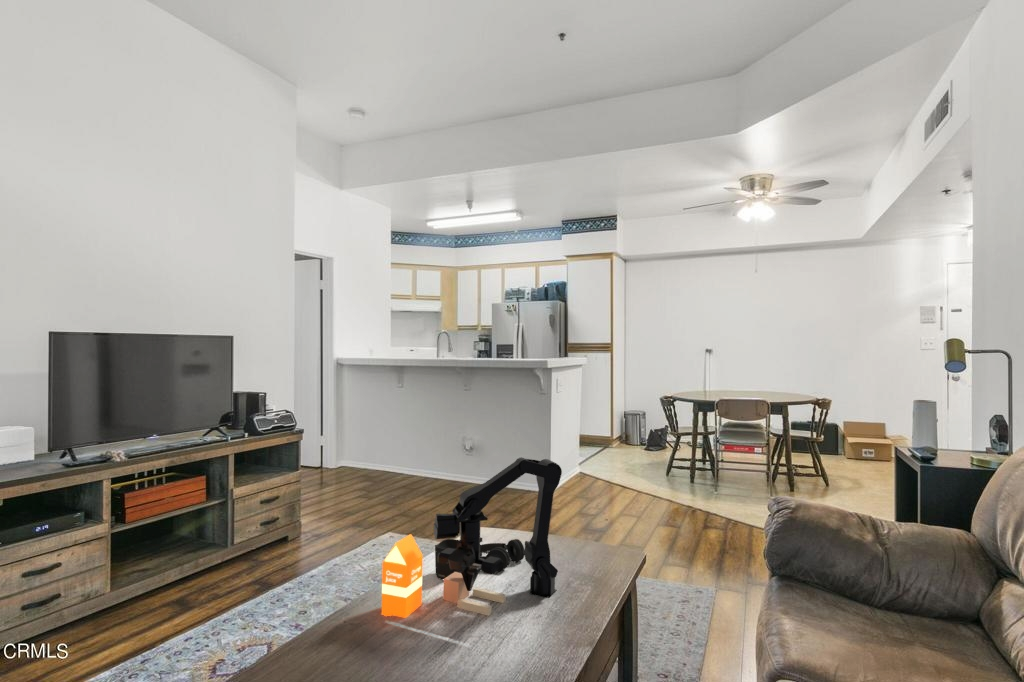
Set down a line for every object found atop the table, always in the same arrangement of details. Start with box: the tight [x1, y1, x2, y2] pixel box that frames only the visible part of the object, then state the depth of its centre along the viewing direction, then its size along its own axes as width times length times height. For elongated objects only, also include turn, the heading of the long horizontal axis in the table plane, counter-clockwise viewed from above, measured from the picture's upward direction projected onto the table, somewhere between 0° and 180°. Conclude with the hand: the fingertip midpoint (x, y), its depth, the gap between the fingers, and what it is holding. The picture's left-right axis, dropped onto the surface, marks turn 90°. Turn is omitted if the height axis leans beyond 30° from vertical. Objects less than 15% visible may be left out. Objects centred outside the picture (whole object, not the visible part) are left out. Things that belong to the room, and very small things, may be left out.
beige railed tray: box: [456, 587, 507, 617], centre depth 162 cm, size 18×12×2 cm, turn 63°
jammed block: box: [442, 572, 470, 604], centre depth 164 cm, size 5×6×6 cm
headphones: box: [480, 538, 525, 572], centre depth 194 cm, size 17×7×20 cm
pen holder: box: [434, 538, 461, 580], centre depth 181 cm, size 9×9×10 cm
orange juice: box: [381, 533, 424, 619], centre depth 156 cm, size 8×9×20 cm
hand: (469, 590), depth 162 cm, fingers closed
